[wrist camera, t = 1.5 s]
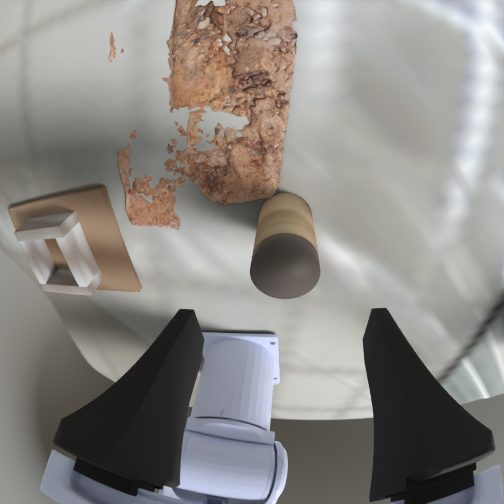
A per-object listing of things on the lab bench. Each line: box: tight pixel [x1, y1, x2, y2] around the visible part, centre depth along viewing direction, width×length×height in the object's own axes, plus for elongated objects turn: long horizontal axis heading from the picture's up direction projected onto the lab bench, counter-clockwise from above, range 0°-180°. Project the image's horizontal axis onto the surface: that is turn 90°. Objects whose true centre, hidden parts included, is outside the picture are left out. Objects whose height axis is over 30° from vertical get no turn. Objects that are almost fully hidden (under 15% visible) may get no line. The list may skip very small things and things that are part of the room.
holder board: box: [8, 186, 142, 296], centre depth 21 cm, size 10×14×3 cm
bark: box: [109, 0, 297, 230], centre depth 14 cm, size 22×12×1 cm, turn 0°
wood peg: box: [250, 193, 320, 299], centre depth 17 cm, size 4×4×6 cm
